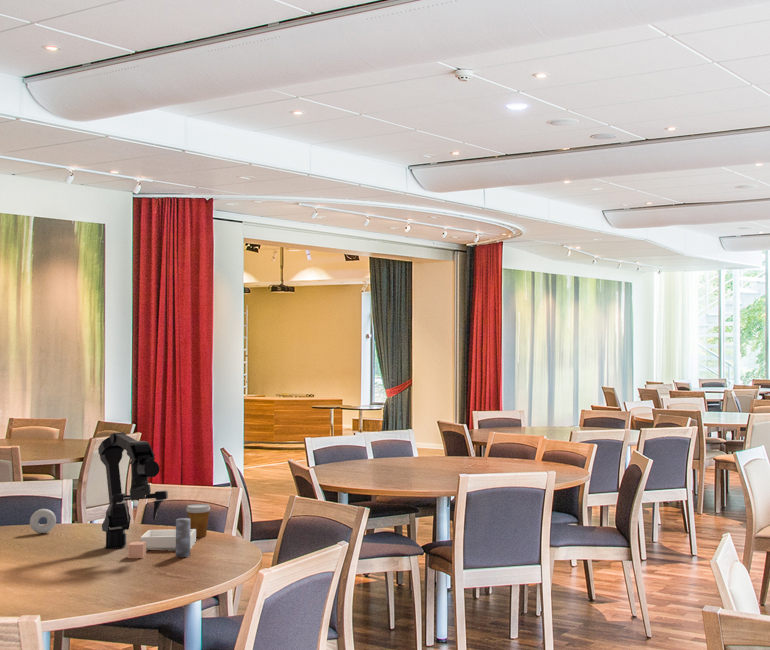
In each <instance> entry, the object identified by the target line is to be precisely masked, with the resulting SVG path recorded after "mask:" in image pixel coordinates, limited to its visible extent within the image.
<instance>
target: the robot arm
mask: <svg viewBox="0 0 770 650" xmlns="http://www.w3.org/2000/svg"><path fill="white" fill-rule="evenodd" d="M97 451H98V455H99V458H100V461H101V463H102V464H103V465H104V466H105V471H106V473H105V474H106V483H107V491H108V492H107V494H108V502H109V505H108V507H107V509H106V511H105V518H104V519H103V522H102V524H101V530H102V532H104V533H105V546H104V549H123V548H124V547H125V546H126V545H127V533H126V530H127V531H128V530H130V524H131V520H132V517H131V515H130V509H129V505H128V502H127V501H134V500H147V499H150V500H151V499H155V500H154V501H153V513H152V514H153V515H152V516H153V517H152V518H153V521H156V517H157V514H158V511H159V508H160V506H161V503H163V502H164V501H165V500H167V499H168V498H169V492H168V490H156V491H155V492H154V493H153V492H152V493H151V490H152V489H151V484H150V483H149V478H154V477H156V476H158V475H159V473H160V470H161V469H160V465H159V464H158V462H157V461H155V460H156V457H155V456H156V455H155V453H154V451H153V450H152V446H151V445H150V443H149V441H146V440H136V439H135V438H133V437H131V436H129V435H128V434H126V433H125V432H113V433H111V434H110V435H109V437H107V438H105V439H103V440H102V441H101V443H100V444H99V446H98V449H97ZM124 451H126V455H127V456H128V457H129V459H130V461H129V465H130V468H131V469H130V470H131V471H130V472H131V484H130V485H131V486H130V489H129V494H126V492H125V493H123V492H122V490H123V489H122V481H121V473H120V463H121V460H122V458H123V453H124Z"/></svg>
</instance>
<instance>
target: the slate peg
mask: <svg viewBox="0 0 770 650" xmlns="http://www.w3.org/2000/svg"><path fill="white" fill-rule="evenodd" d="M175 529H176V550H175V558H177V557H186V558H189V557H191V550H190V519H189V518H188V517H180V518H177V519H175ZM188 556H189V557H188Z"/></svg>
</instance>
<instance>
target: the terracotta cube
mask: <svg viewBox="0 0 770 650" xmlns="http://www.w3.org/2000/svg"><path fill="white" fill-rule="evenodd" d="M127 547H128V548H127V549H128V551H127V552H128V557H127V559H128V558H143V557H144V556H145V555H146V556H147V551H146V542H141V541H130V543H129V544H128V545H127ZM146 556H145V557H146ZM145 557H144V558H145ZM144 558H143V559H144Z"/></svg>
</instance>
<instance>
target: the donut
mask: <svg viewBox="0 0 770 650" xmlns="http://www.w3.org/2000/svg"><path fill="white" fill-rule="evenodd" d="M41 518H46V523H45V524H43V525H42V524H40V522H39V521H40V519H41ZM56 524H57V516H56V515H55V513H54V512H53V511H52V510H50V509H48V508H40V509H38V510H36V511H34V512H33V514H31V517H30V519H29V527H30V528H31V530H32V531H33V532H34V533H37V534H41V533H43V534H48V533H49V532H50V531H52V530H53V529H54V528H55V525H56Z"/></svg>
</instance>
